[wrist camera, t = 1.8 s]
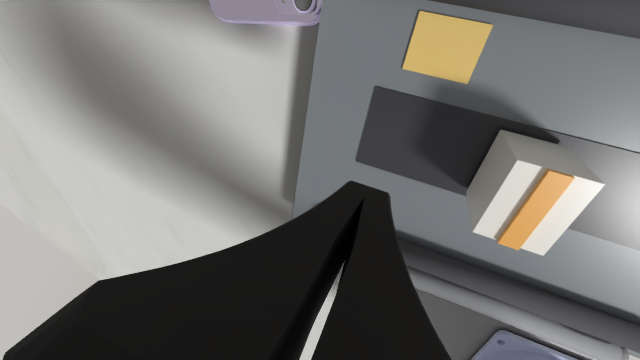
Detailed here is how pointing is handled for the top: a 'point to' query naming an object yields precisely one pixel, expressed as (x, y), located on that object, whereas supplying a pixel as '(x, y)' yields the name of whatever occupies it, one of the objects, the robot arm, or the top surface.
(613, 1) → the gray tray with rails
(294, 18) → the mobile phone
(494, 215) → the white orange striped block
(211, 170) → the top surface
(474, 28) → the panel
